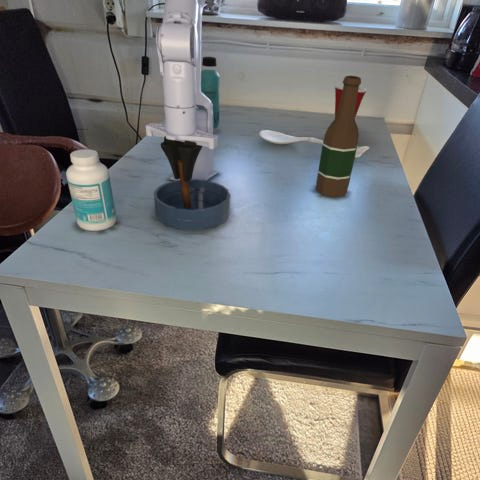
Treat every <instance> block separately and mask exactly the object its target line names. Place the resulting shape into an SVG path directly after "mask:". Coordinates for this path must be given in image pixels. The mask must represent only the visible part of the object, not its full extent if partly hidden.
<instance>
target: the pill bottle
mask: <svg viewBox="0 0 480 480" xmlns="http://www.w3.org/2000/svg"><path fill="white" fill-rule="evenodd" d="M69 156H70V162H71V163H72V164H71V165H69V166H68V167H67V170H66V173H65V175H66V180H67V184H68V185H67V186H68V189H69V193H70V198H71V202H72V207H73V211H74V215H75V219H76V223H77V225H78V227H80V228H81V229H83V230H85V231H89V232H91V231H92V232H98V231H99V232H100V231H104V230H107V229H110V228H112V227H113V226H114V225H115V223H116V222H117V214H116V213H117V212H116V207H115V200H114V196H113V195H114V194H113V190H112V183H111V177H110V171H109V169H108V167H107V165H105V164H103V163H102V162H99V160H100V157H99V153H98V151H97V150H94V149H84V148H83V149H78V150H77V149H76V150H74V151H72V152H71V153H70V154H69Z"/></svg>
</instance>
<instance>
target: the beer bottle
mask: <svg viewBox="0 0 480 480" xmlns="http://www.w3.org/2000/svg"><path fill="white" fill-rule="evenodd" d="M361 84H362V79H361V77H360V76H357V75H346V76H344V78H343V80H342V85H344V86H343V90H342V94H341V98H340V103H339V107H338V111H337V114H336V117H335V116H334V120H332V122H331V123H330V125H329V126H328V128H327V130H326V131H325V133H324V136H323V139H322V140H323V145H322V144H321V152H320V158H319V163H318V170H317V176H316V183H315V192H316V193H318V194H319V195H320V196H322V197H325V198H326V197H327V198H332V199H336V198H342V197H343V198H344V197H345V196H346V194H347V192H348V189H349V185H350V181H351V176H352V171H353V167H354V162H355V159H356V158H355V154H356V149H357V148H358V146H359V145H358V143H359V137H360V134H359V127H358V125H357V123H356V117H355V110H356V103H357V96H358V89H359V87H360V85H361Z"/></svg>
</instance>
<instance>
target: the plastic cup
mask: <svg viewBox="0 0 480 480" xmlns="http://www.w3.org/2000/svg"><path fill="white" fill-rule="evenodd" d="M343 86H344V84H334V91H335V92H334V93H335V95H334V97H335V99H334V100H335V101H334V118H335V117H336V114H337V111H338V107H339V103H340V98H341V94H342V90H343ZM367 92H368V89H367V88H364V87H361V86H359V89H358V96H357V103H356V110H355V118H356V117H357V114H358V112H359V108H360V106H361V103H362V101H363V99H364V97H365V95H366V93H367Z"/></svg>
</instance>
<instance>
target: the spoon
mask: <svg viewBox="0 0 480 480" xmlns="http://www.w3.org/2000/svg"><path fill="white" fill-rule="evenodd" d="M258 135H259V138H261V139H262V140H264V141H266V142H267V143H271V144H274V145H282V146H283V145H288V144H293V143H294V144H295V143H298V142H309V143H312V144H319V145H321V146H322V145H323V140H324V139H318V138H316V137H310V136H302V137H301V136H300V137H297V136H293V135H289V134H285V133H282V132H279V131H275V130H270V129H262V130H260V131H259V133H258ZM369 149H370V147H369V146H368V145H363V146H357V149H356V154H355V159H359V158H360V157H361V156H362V155H363V154H364V153H365V152H366V151H367V150H369Z"/></svg>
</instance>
